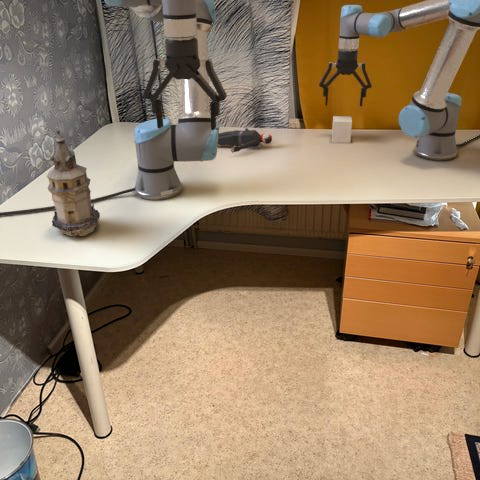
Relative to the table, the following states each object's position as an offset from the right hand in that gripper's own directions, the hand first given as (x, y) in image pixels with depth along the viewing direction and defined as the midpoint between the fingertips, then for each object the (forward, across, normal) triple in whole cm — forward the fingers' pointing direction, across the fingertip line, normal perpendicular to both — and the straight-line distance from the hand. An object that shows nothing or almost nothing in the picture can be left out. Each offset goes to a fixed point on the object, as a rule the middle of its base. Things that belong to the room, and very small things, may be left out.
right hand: (343, 105), depth 214 cm
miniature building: (+14, +78, +87) cm, 117 cm away
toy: (+14, +42, +12) cm, 46 cm away
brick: (+14, 0, 0) cm, 14 cm away
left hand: (-18, +43, +89) cm, 100 cm away
